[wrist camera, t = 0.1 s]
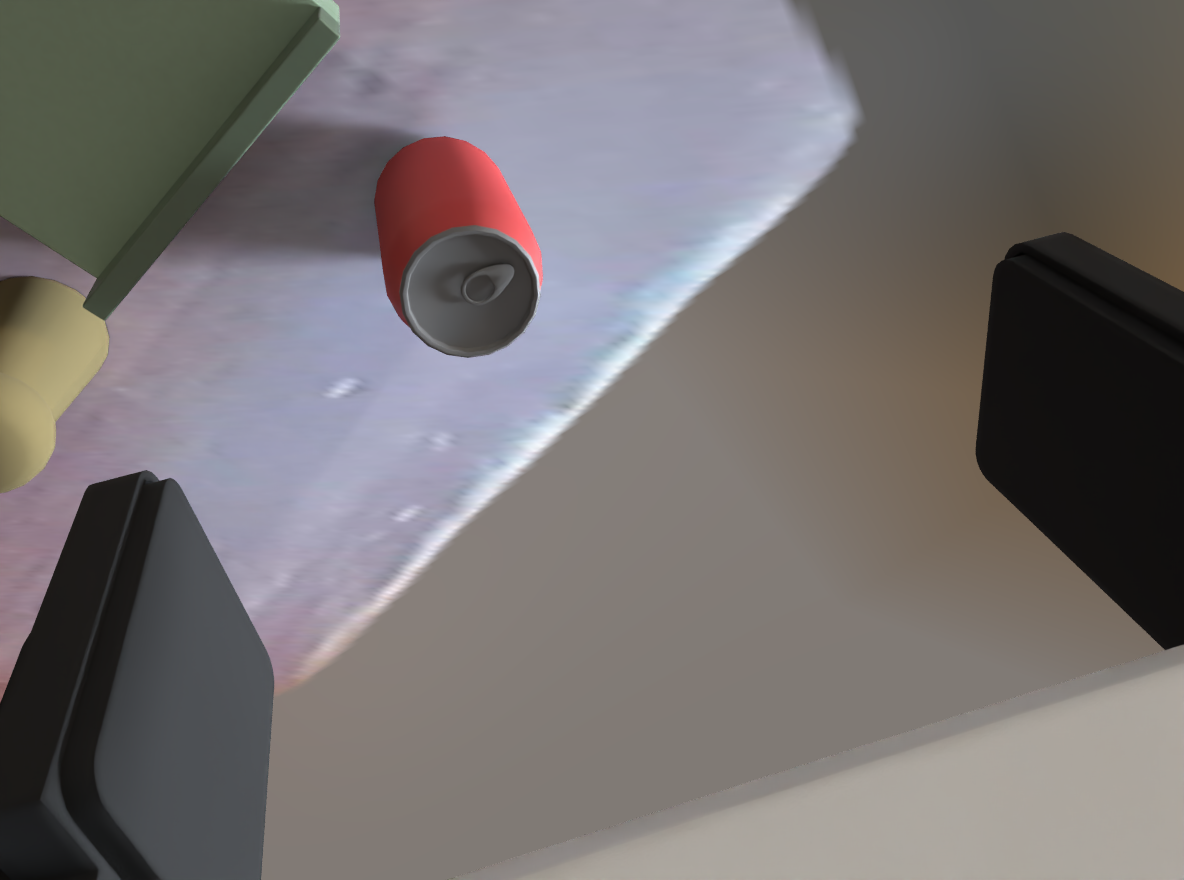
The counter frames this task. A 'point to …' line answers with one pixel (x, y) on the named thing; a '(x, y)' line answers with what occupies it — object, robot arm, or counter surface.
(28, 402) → the cork
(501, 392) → the counter surface
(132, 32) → the shelf
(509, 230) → the beer can
